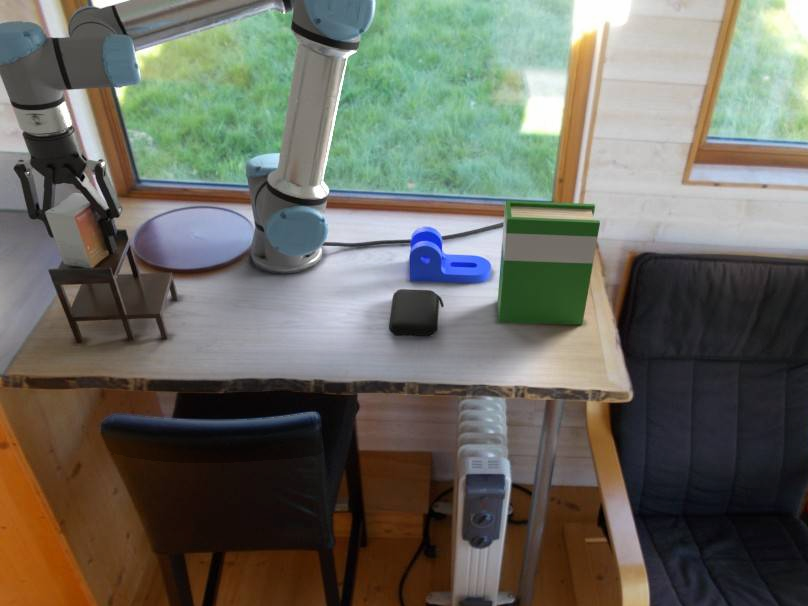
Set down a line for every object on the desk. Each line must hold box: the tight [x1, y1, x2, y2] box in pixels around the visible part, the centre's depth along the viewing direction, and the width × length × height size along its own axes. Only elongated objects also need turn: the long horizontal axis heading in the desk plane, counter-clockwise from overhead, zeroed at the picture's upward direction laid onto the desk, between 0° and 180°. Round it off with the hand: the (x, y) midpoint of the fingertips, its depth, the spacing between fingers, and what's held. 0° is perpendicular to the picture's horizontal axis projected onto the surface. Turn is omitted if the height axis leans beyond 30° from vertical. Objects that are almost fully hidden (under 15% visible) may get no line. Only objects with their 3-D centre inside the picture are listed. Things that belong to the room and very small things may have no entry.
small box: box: [45, 192, 117, 268], centre depth 132 cm, size 8×6×10 cm
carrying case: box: [388, 288, 444, 338], centre depth 152 cm, size 11×3×15 cm
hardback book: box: [497, 199, 601, 325], centre depth 150 cm, size 18×7×24 cm, turn 94°
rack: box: [47, 228, 179, 344], centre depth 140 cm, size 16×14×16 cm
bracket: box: [408, 226, 492, 284], centre depth 164 cm, size 18×8×9 cm, turn 93°
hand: (89, 251), depth 135 cm, fingers closed on small box, 7 cm apart
